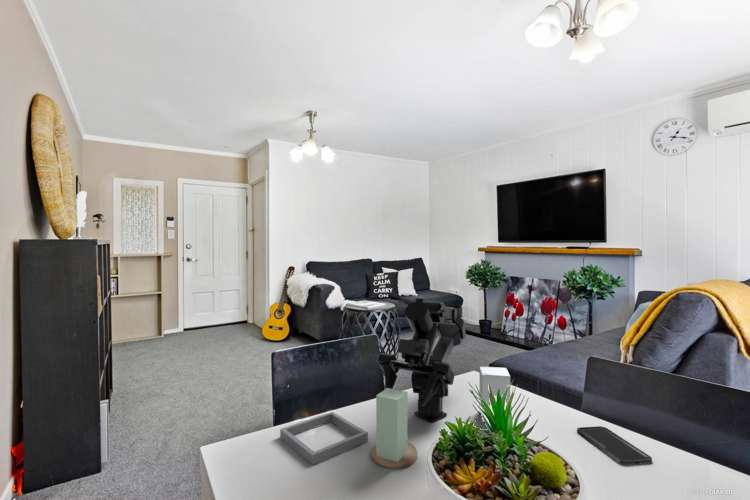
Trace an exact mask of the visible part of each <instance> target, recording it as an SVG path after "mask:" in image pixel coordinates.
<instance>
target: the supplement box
mask: <svg viewBox="0 0 750 500" xmlns="http://www.w3.org/2000/svg"><path fill="white" fill-rule="evenodd" d="M488 384H490V386H491V389H492V392H493V394H494V395H495V396H496V395H497V390H498V386H499V389H500V393H501V395H503V394H504V392H505V390H506V388H507V385H509V384H510V385H511V375H510V373H509V371H508V368H507V367H497V366H495V367H494V366H479V394H480V393H481V395H482V397H483V398H484V400H485V401H486V402H487V404H488V405H489V406H490V402H489V396H488ZM509 398H510V399H511V387H510V388H509V391H508V394H507V398H506V403H507V402H508V400H509ZM478 407H480V405H479V406H478ZM479 416H480V421H481V422H482V423H484V421H483V419H482V417H481V415H480V414H479Z"/></svg>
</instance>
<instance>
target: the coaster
mask: <svg viewBox="0 0 750 500" xmlns="http://www.w3.org/2000/svg"><path fill="white" fill-rule="evenodd" d="M370 456H371V459H372V461H373V462H374V463H375V464H376V465H378V466H380V467H382V468H385V469H392V470H399V469H405V468H408V467H411V466H412V465H414V464H415V463H416V462H417V459H418V450H417V448H416V447H415V445H413V444H412V443H411V442H408V441H407V452H406V453H405V454H404V456H403V457H402V458H401V459H400V460H399V461H398V462H395V461H391V460H388V459H385V458H382V457H378V456H376V443H375V444H373V446H372V448H371V455H370Z"/></svg>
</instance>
